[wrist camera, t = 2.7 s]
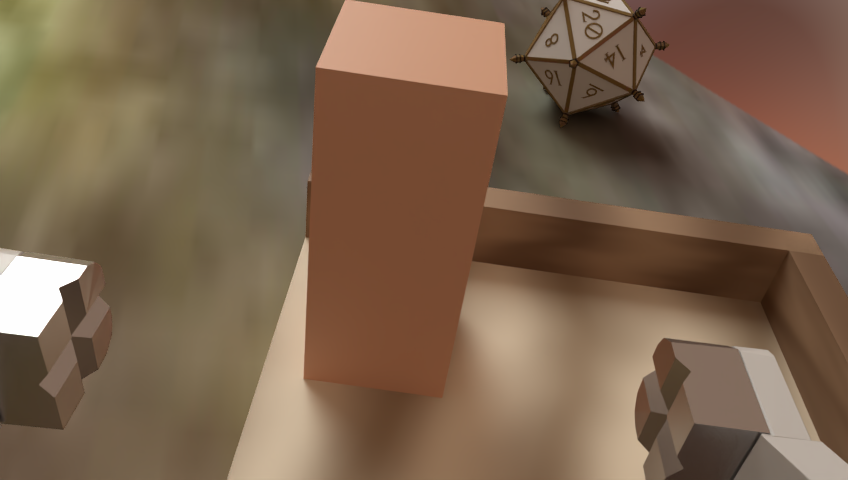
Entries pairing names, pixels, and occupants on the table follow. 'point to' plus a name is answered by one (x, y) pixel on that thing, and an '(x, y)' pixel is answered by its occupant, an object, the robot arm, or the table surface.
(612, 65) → the game die
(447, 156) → the terracotta block
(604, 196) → the table surface
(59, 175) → the table surface
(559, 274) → the board
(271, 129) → the table surface
